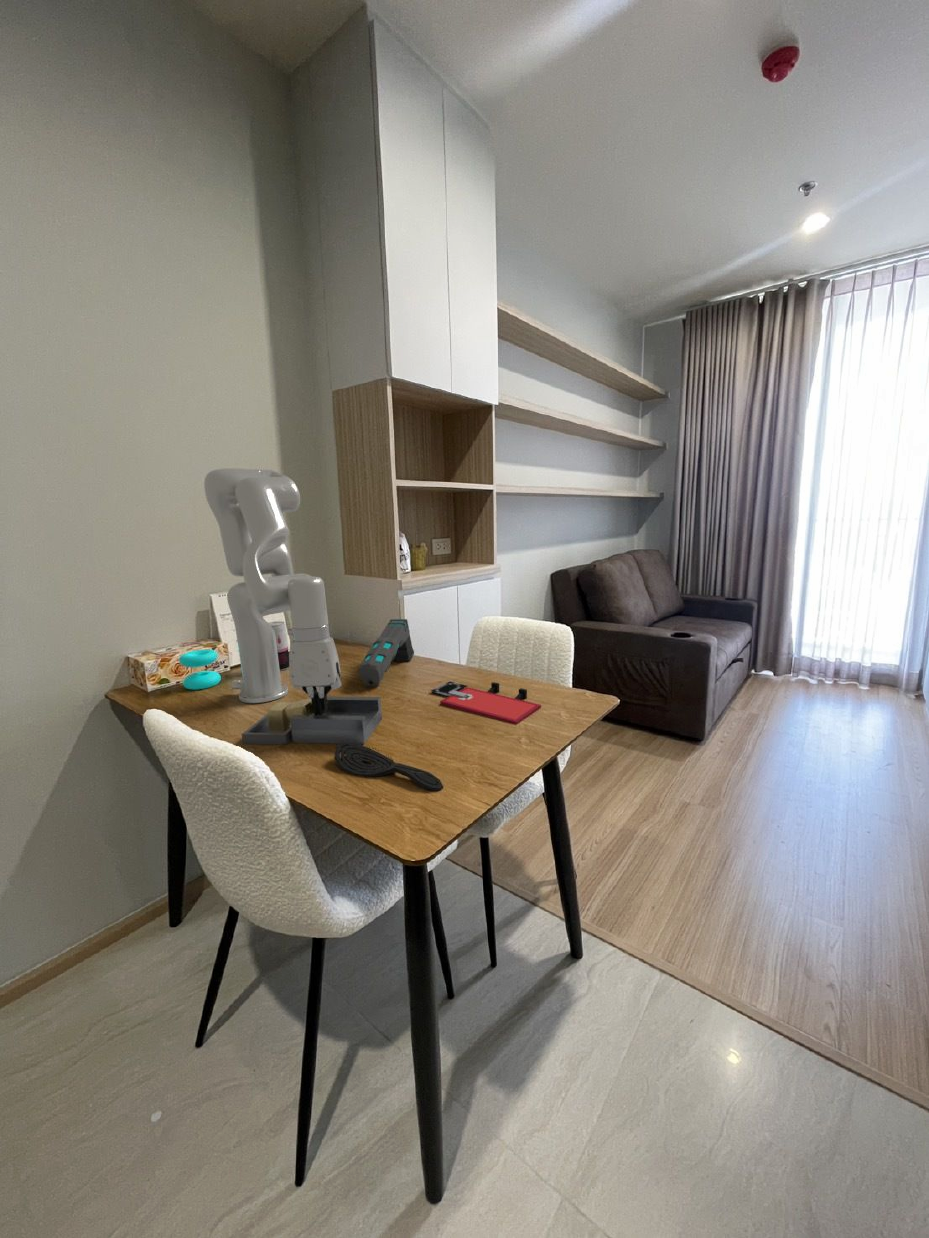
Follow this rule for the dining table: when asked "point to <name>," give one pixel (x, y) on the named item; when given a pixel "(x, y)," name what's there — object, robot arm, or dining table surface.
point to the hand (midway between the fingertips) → (320, 712)
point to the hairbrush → (379, 765)
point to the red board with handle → (487, 702)
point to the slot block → (339, 721)
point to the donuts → (204, 677)
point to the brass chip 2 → (300, 708)
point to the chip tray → (265, 734)
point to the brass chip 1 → (278, 716)
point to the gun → (387, 652)
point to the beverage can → (281, 644)
